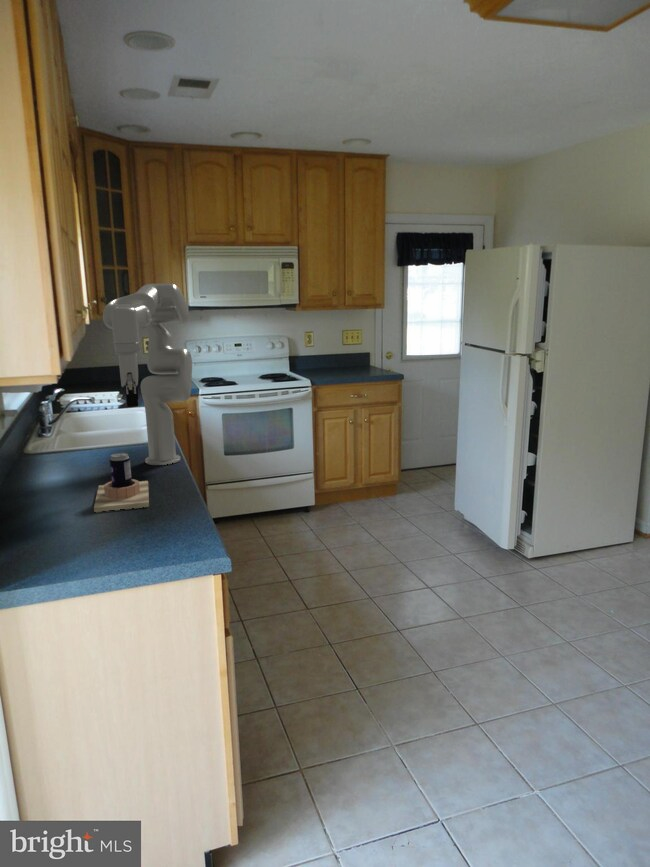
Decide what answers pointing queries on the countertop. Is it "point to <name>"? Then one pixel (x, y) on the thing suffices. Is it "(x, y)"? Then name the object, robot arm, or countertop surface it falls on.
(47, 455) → the countertop surface
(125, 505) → the base board
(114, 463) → the beverage can
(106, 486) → the segmented ring
